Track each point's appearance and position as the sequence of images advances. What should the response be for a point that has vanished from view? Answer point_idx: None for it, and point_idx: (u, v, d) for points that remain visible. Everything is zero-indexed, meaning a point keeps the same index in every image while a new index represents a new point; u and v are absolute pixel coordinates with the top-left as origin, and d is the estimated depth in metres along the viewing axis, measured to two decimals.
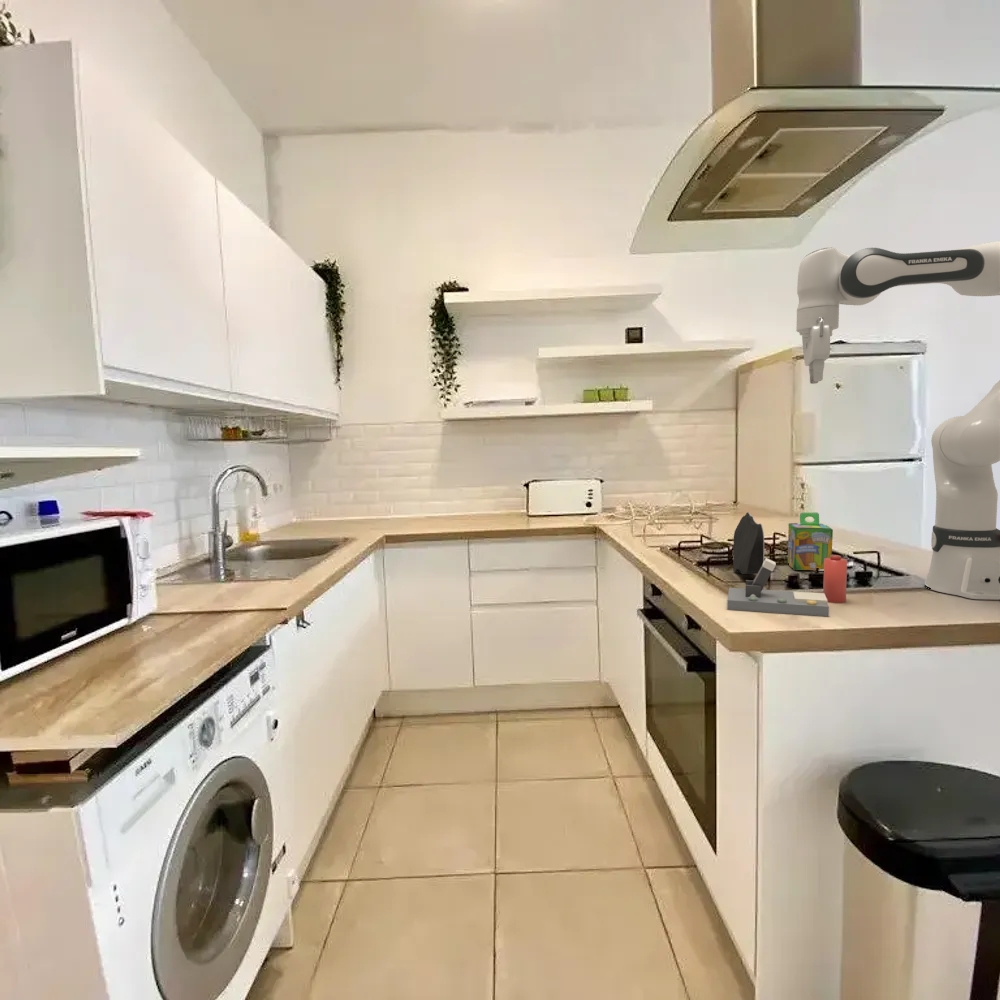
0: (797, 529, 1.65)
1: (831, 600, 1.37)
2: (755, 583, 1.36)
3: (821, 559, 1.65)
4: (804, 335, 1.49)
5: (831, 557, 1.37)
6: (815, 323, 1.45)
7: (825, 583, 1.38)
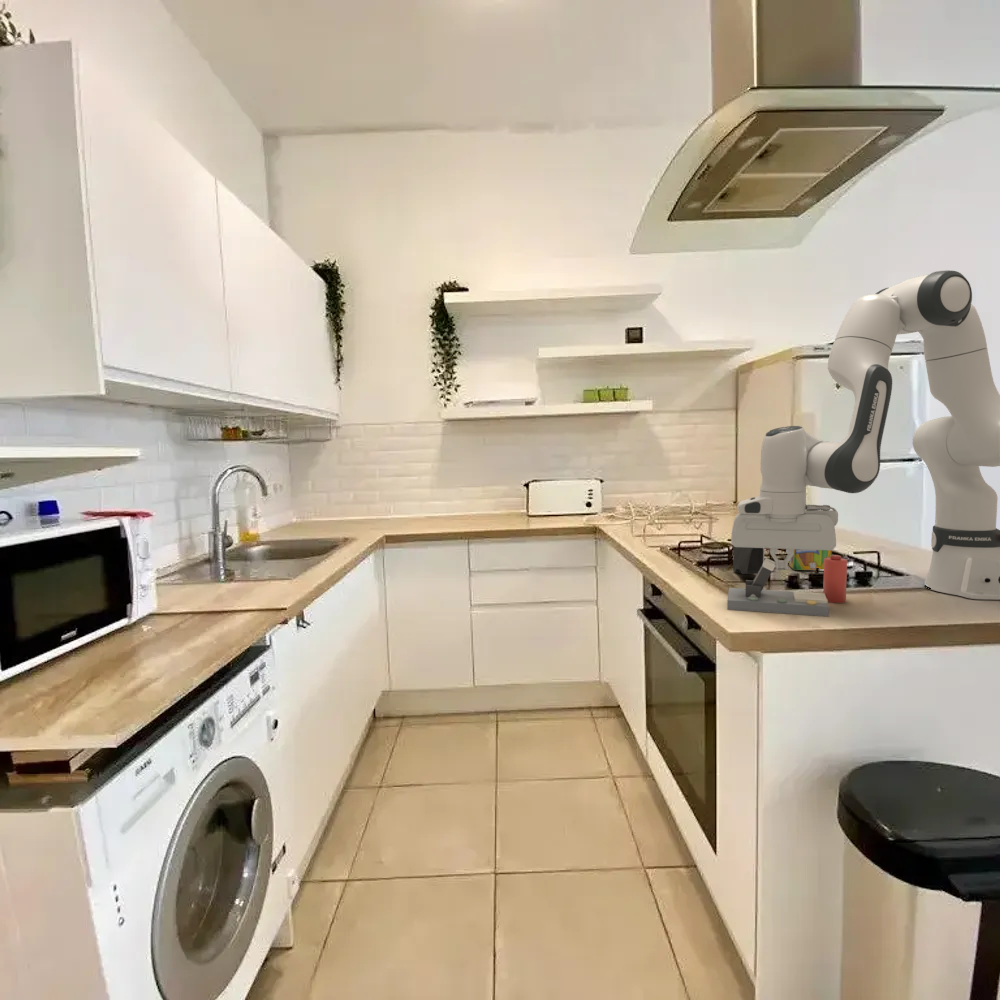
0: None
1: (831, 600, 1.37)
2: (755, 583, 1.36)
3: (821, 559, 1.65)
4: (790, 520, 1.31)
5: (831, 557, 1.37)
6: (805, 509, 1.31)
7: (825, 583, 1.38)
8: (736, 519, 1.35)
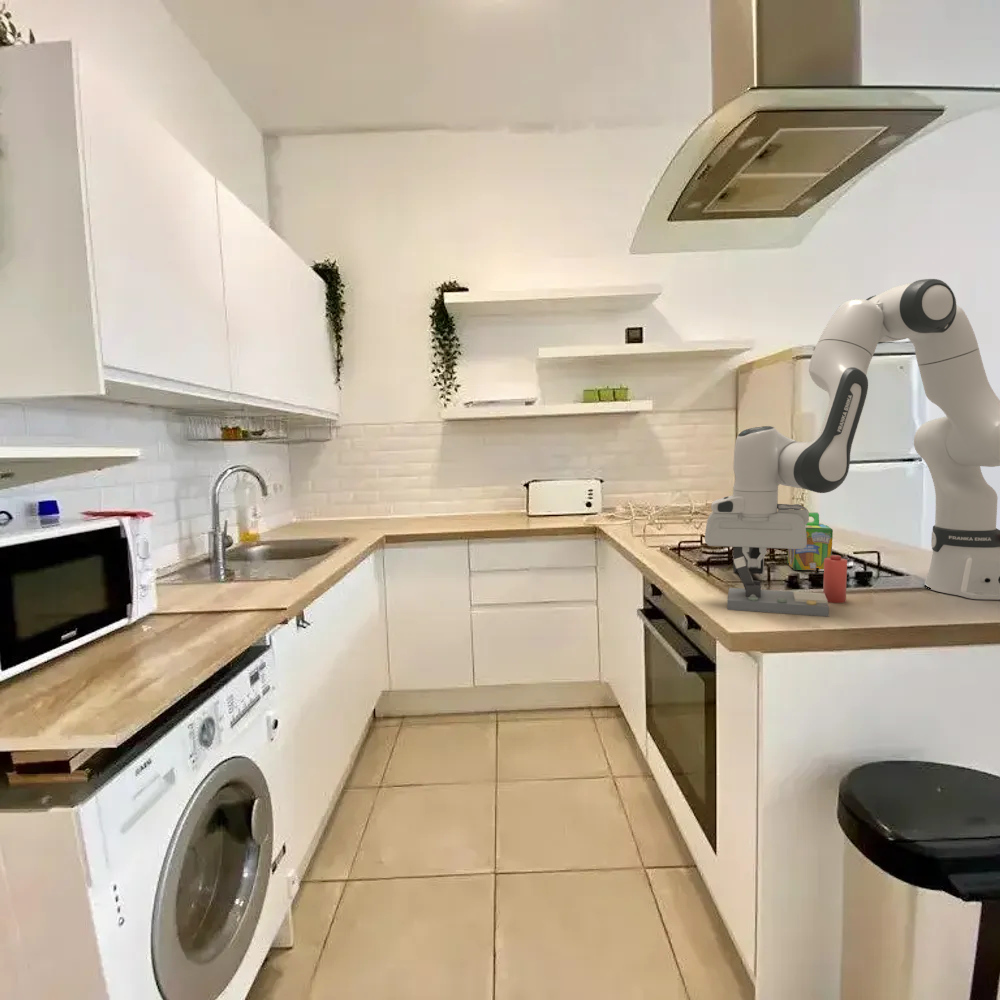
0: None
1: (831, 600, 1.37)
2: (744, 585, 1.37)
3: (821, 559, 1.65)
4: (762, 519, 1.33)
5: (831, 557, 1.37)
6: (777, 508, 1.33)
7: (825, 583, 1.38)
8: (709, 518, 1.37)
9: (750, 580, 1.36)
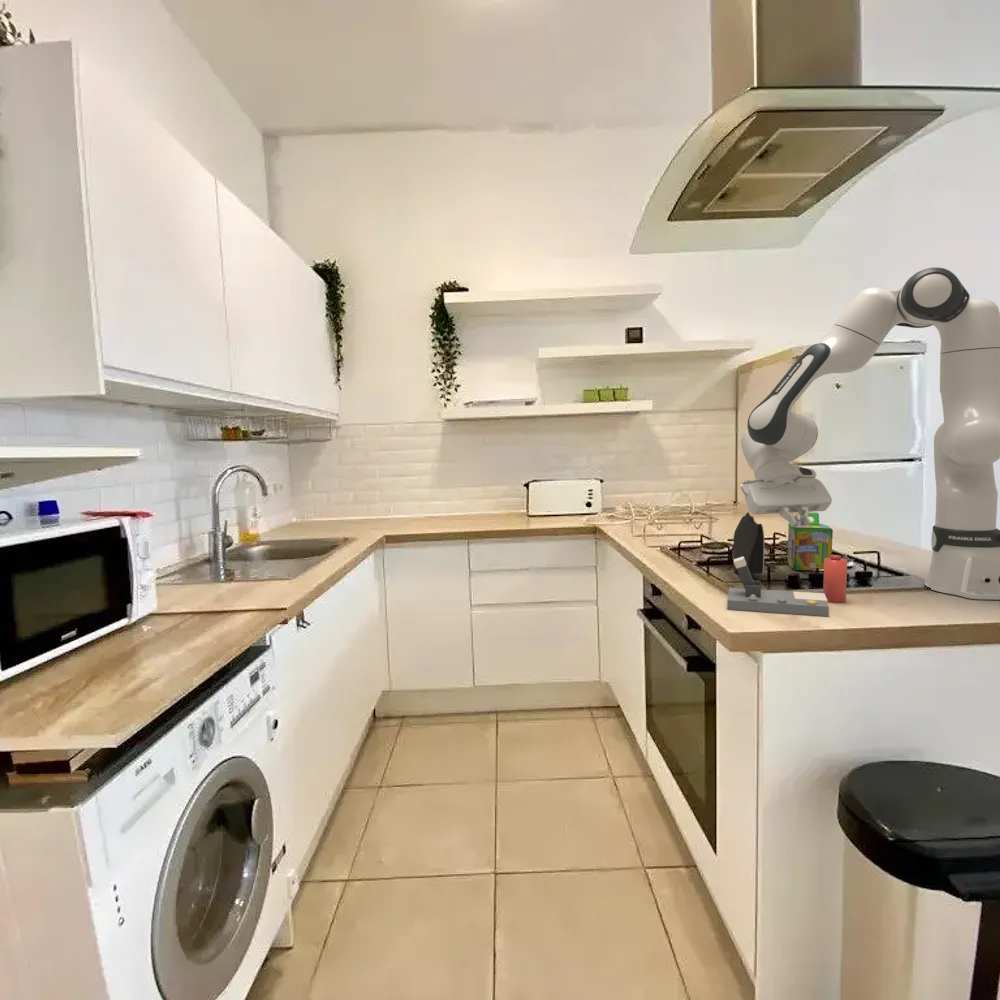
0: (797, 529, 1.66)
1: (831, 600, 1.37)
2: (744, 585, 1.37)
3: (821, 559, 1.65)
4: None
5: (831, 557, 1.37)
6: None
7: (825, 583, 1.38)
8: None
9: (750, 580, 1.36)
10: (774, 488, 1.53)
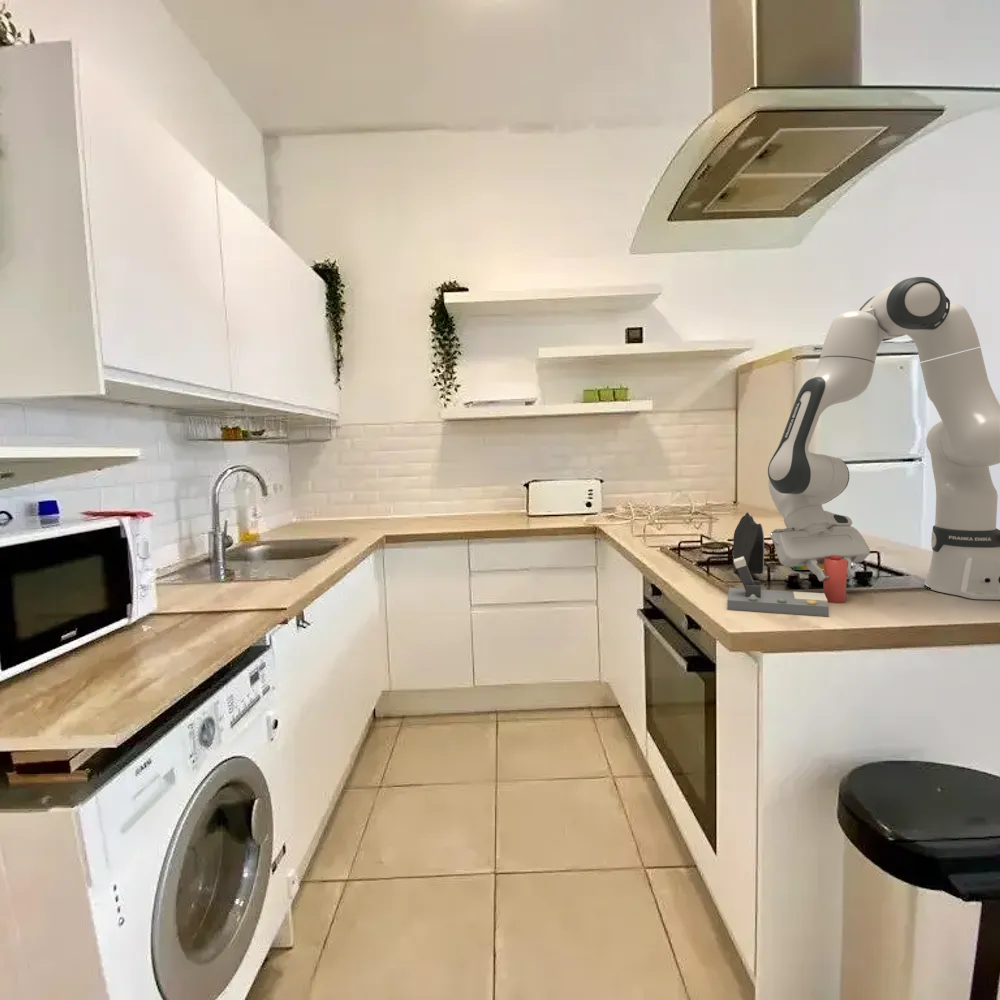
0: None
1: (831, 600, 1.37)
2: (744, 585, 1.37)
3: None
4: None
5: (831, 557, 1.37)
6: None
7: (825, 583, 1.38)
8: None
9: (750, 580, 1.36)
10: (807, 538, 1.42)
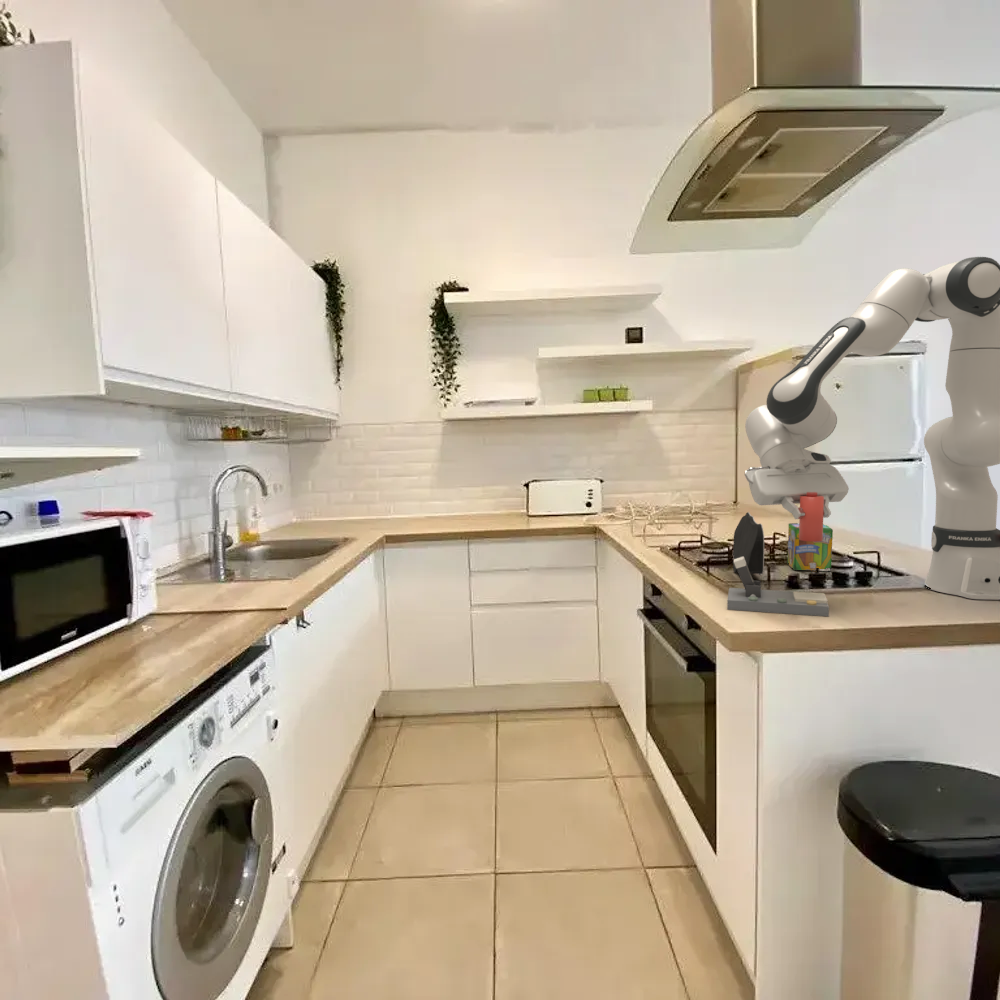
0: (797, 529, 1.66)
1: (807, 539, 1.30)
2: (744, 585, 1.37)
3: (821, 559, 1.65)
4: None
5: (807, 494, 1.31)
6: None
7: (801, 521, 1.31)
8: None
9: (750, 580, 1.36)
10: (783, 475, 1.35)
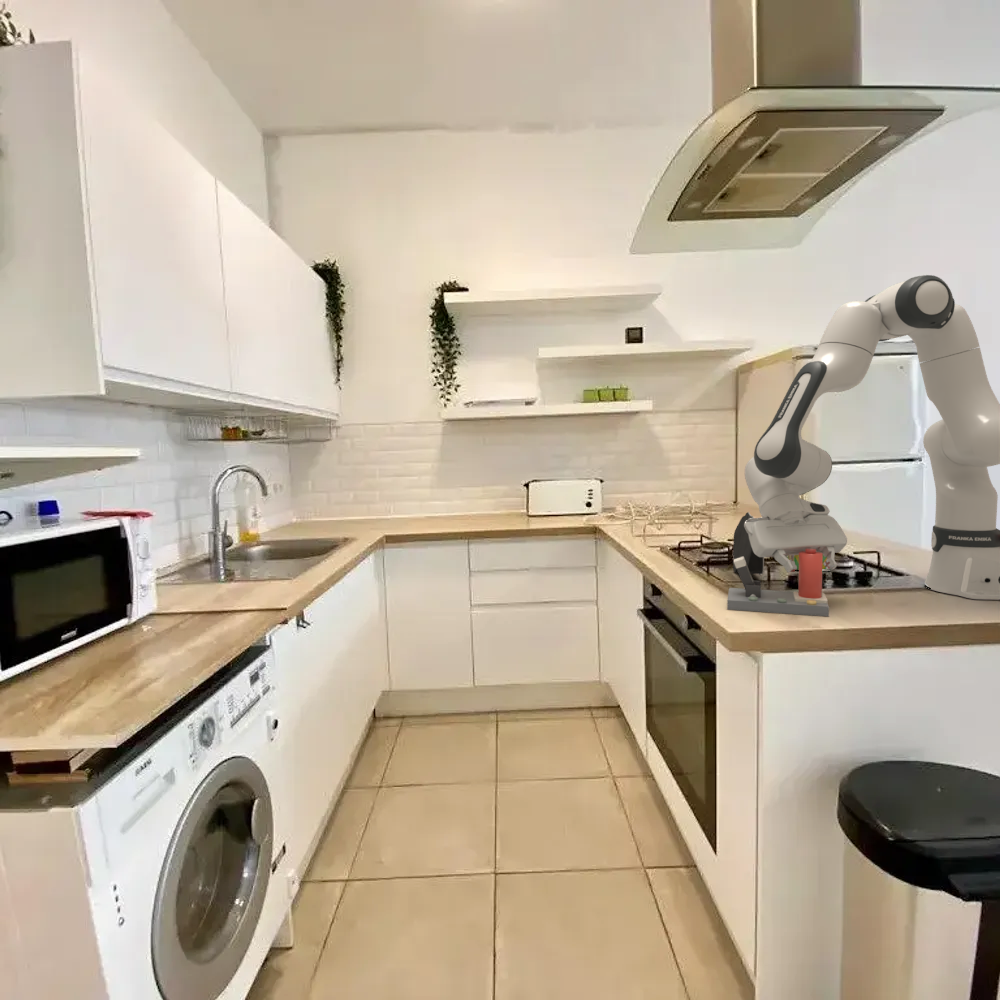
0: None
1: (806, 595, 1.31)
2: (744, 585, 1.37)
3: None
4: None
5: (806, 550, 1.32)
6: None
7: (800, 578, 1.32)
8: None
9: (750, 580, 1.36)
10: (782, 527, 1.36)
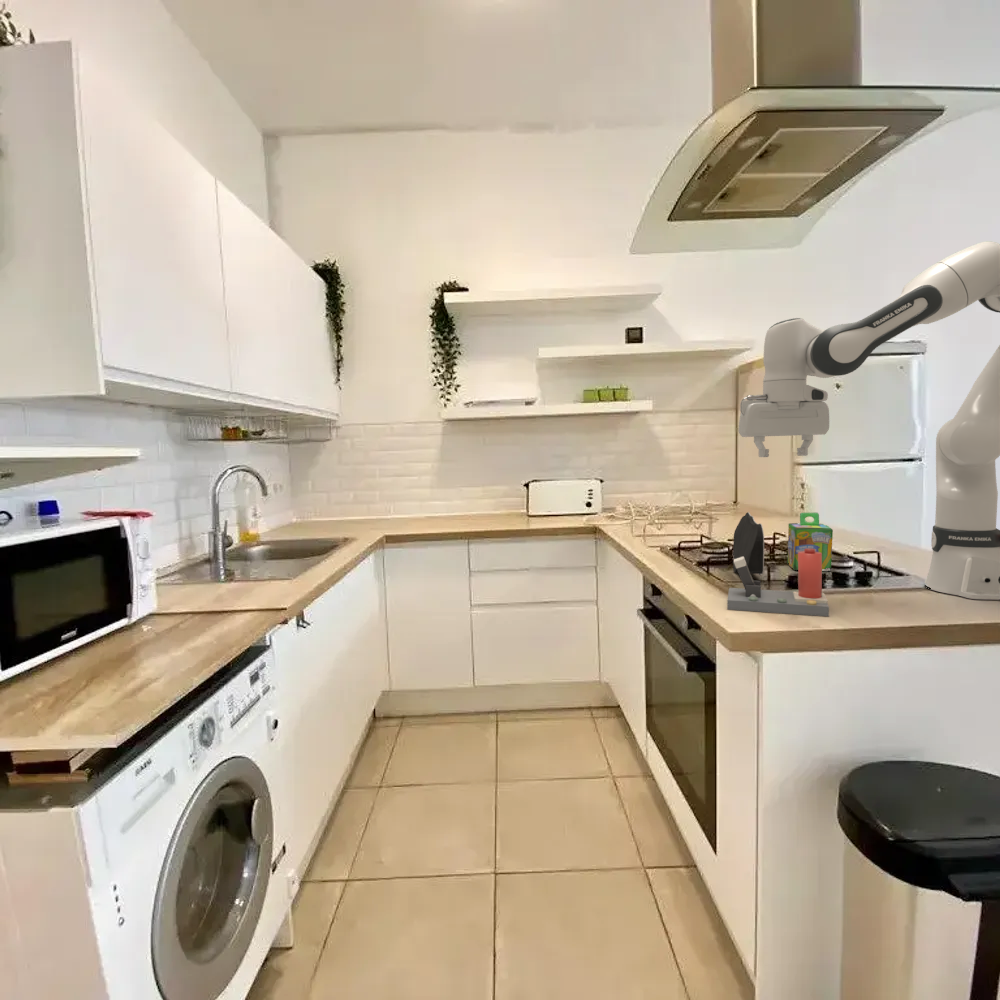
0: (797, 529, 1.66)
1: (807, 595, 1.31)
2: (744, 585, 1.37)
3: None
4: None
5: (805, 550, 1.32)
6: None
7: (800, 578, 1.32)
8: None
9: (750, 580, 1.36)
10: (774, 412, 1.41)
